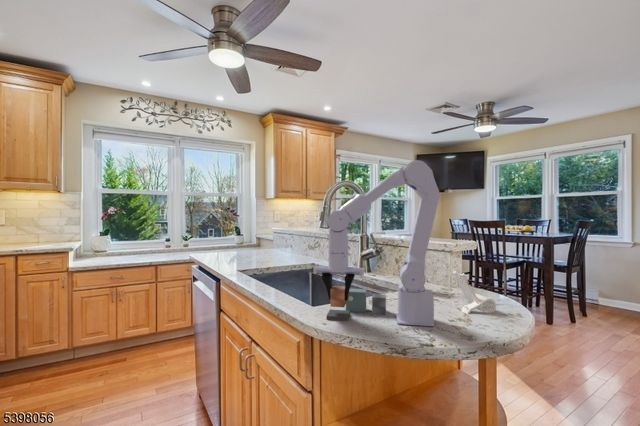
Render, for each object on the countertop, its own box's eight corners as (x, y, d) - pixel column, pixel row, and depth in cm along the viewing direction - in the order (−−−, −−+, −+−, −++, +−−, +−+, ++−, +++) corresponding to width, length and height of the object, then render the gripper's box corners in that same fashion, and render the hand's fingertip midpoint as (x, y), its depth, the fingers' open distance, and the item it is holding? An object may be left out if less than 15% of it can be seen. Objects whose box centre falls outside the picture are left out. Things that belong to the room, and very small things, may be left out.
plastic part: (495, 312, 97) (496, 274, 97) (466, 314, 95) (467, 275, 95) (478, 305, 104) (479, 269, 104) (451, 307, 102) (451, 270, 102)
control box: (366, 307, 101) (366, 289, 101) (365, 312, 96) (365, 292, 96) (347, 306, 102) (347, 288, 102) (345, 311, 97) (345, 292, 97)
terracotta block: (346, 303, 94) (346, 286, 94) (344, 307, 91) (344, 289, 90) (332, 302, 95) (332, 285, 95) (330, 306, 91) (330, 289, 91)
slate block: (385, 310, 99) (385, 294, 99) (385, 314, 95) (385, 297, 95) (372, 309, 99) (372, 293, 99) (372, 314, 95) (372, 297, 95)
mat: (349, 313, 95) (349, 310, 95) (347, 320, 89) (347, 317, 89) (330, 312, 96) (330, 309, 96) (326, 319, 91) (326, 315, 91)
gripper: (364, 251, 95) (364, 296, 95) (316, 250, 98) (316, 294, 98) (362, 254, 88) (362, 303, 88) (311, 253, 91) (311, 300, 91)
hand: (338, 299), depth 93 cm, fingers closed on terracotta block, 4 cm apart
